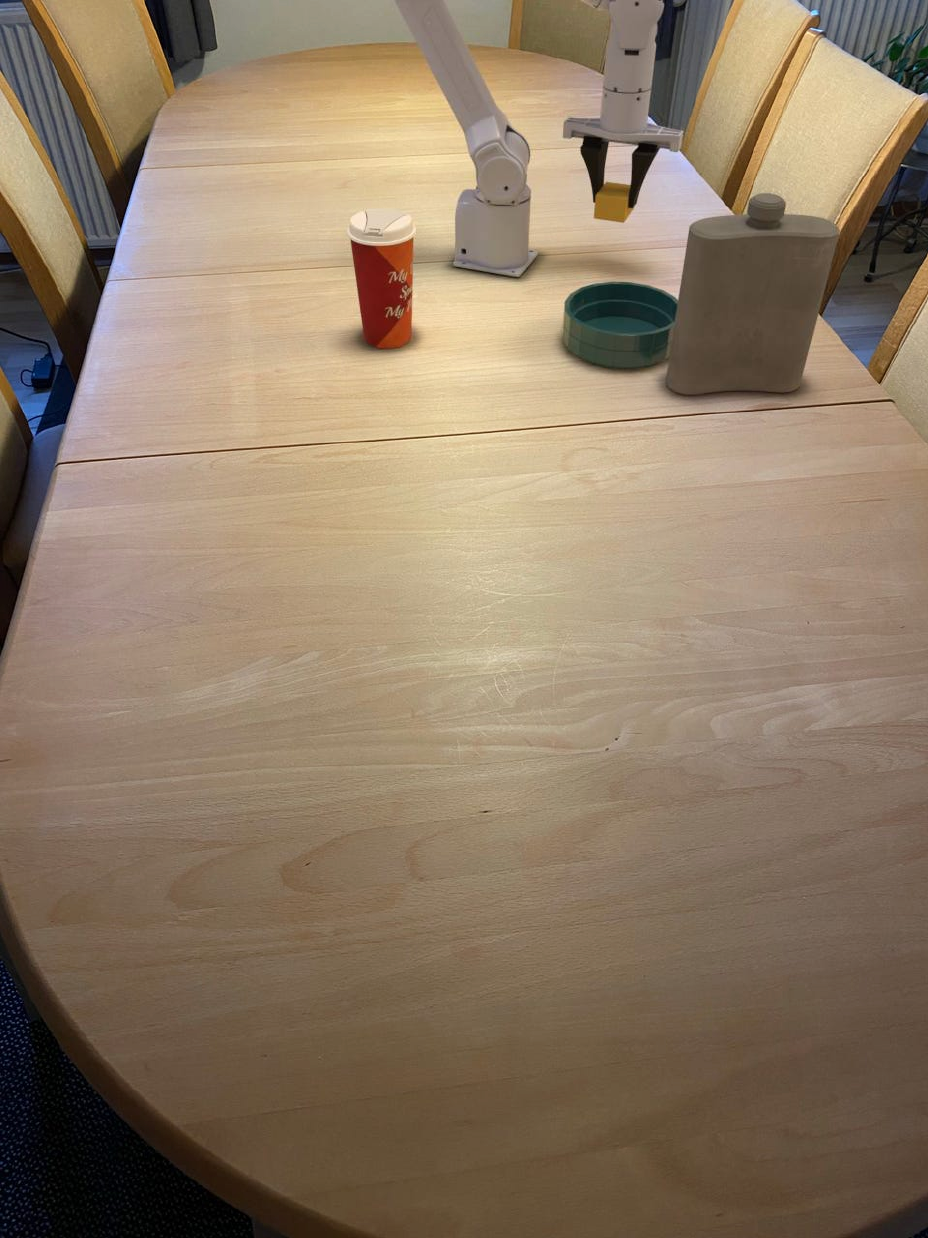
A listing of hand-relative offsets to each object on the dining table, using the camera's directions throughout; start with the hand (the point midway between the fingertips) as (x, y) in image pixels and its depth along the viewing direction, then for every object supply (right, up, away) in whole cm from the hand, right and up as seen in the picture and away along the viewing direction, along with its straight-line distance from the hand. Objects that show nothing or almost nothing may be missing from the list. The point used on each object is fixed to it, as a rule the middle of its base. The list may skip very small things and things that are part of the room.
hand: (615, 202), depth 127 cm
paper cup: (-28, -20, -9) cm, 36 cm away
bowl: (-1, -21, -10) cm, 23 cm away
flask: (+10, -27, -16) cm, 33 cm away
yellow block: (0, -1, +1) cm, 1 cm away
